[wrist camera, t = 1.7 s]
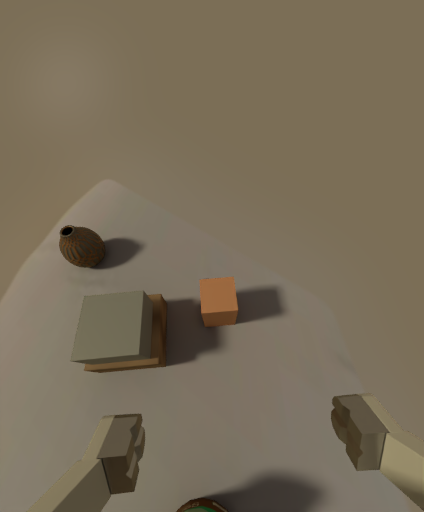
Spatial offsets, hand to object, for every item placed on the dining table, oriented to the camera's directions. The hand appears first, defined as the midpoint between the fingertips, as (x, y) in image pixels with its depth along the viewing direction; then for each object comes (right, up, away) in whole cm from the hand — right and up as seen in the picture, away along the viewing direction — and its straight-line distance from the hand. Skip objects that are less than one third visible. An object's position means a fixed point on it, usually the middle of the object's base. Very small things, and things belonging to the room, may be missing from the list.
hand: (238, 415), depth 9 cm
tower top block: (-14, -4, +23) cm, 27 cm away
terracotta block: (0, -3, +29) cm, 29 cm away
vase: (-25, +6, +35) cm, 44 cm away
